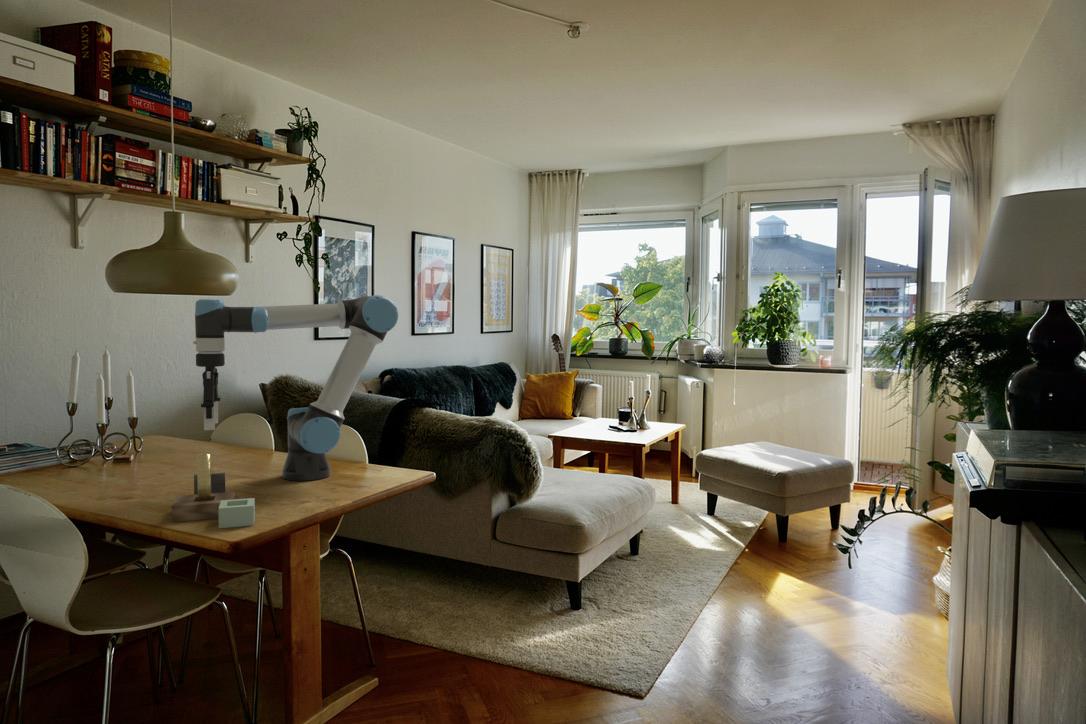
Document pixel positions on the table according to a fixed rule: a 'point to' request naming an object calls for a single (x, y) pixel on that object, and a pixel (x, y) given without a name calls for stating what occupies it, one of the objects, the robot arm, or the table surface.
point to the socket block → (198, 507)
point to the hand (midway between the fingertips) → (211, 426)
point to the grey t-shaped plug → (213, 483)
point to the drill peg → (204, 476)
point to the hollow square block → (236, 512)
